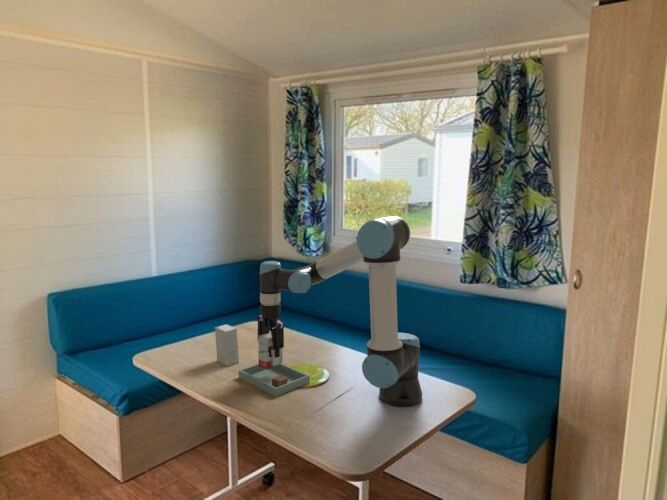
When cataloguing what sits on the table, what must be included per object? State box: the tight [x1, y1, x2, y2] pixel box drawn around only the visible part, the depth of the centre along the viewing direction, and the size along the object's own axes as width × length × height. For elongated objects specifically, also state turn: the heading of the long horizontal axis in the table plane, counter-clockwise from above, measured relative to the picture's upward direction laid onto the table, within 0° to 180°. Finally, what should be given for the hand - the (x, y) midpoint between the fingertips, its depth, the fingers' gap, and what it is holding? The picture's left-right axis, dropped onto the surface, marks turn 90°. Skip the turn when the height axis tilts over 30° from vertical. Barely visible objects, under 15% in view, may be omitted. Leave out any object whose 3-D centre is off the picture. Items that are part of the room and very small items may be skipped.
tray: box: [238, 362, 311, 397], centre depth 187 cm, size 22×16×4 cm
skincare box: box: [214, 323, 240, 367], centre depth 205 cm, size 8×6×15 cm
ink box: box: [257, 331, 284, 369], centre depth 188 cm, size 9×5×12 cm, turn 143°
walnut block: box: [272, 375, 288, 387], centre depth 180 cm, size 4×4×4 cm
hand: (270, 362), depth 189 cm, fingers closed on ink box, 5 cm apart
